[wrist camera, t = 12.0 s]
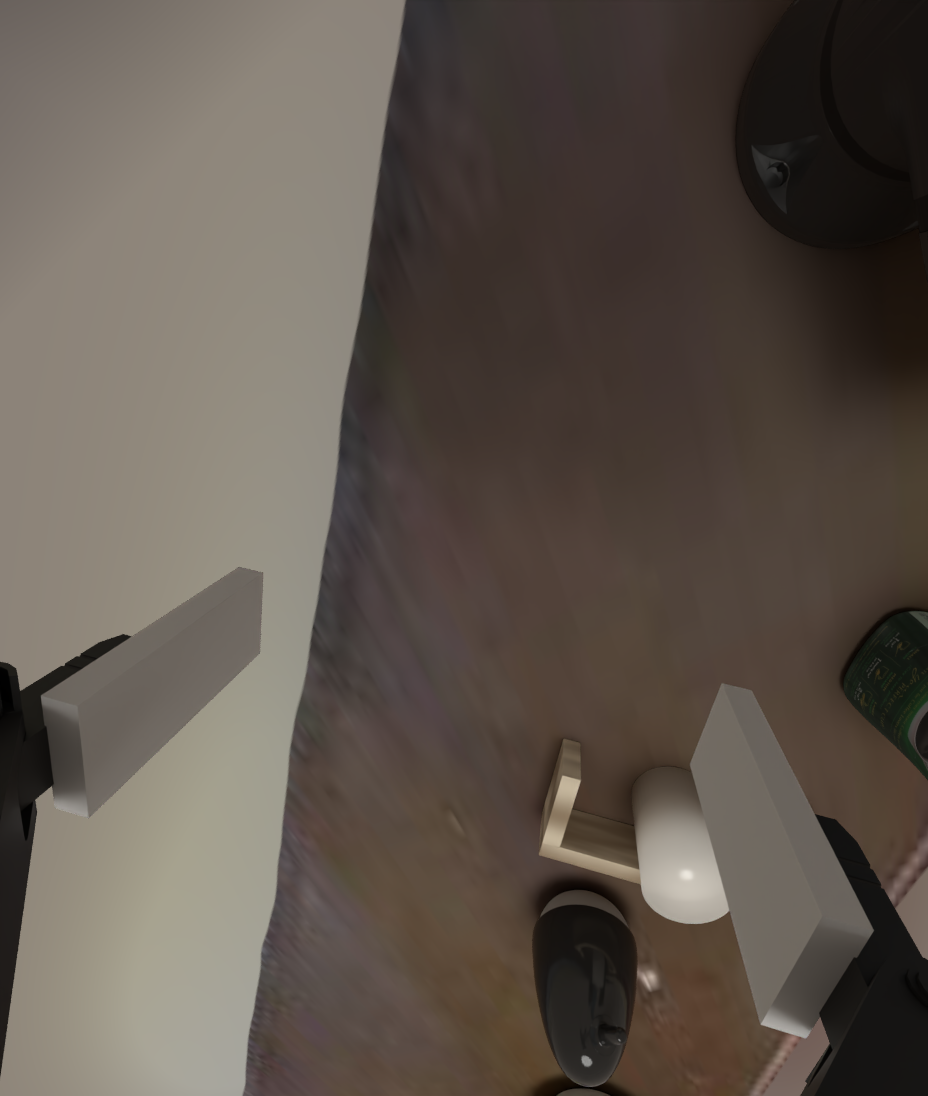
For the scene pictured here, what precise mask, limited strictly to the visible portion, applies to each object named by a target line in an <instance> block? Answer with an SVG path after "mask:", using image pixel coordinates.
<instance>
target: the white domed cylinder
mask: <svg viewBox="0 0 928 1096" xmlns="http://www.w3.org/2000/svg"><path fill="white" fill-rule="evenodd" d="M631 800H632V809H633V818H634V826H635V835H636V844H637V852H638V861H639V870H640V879H641V887H642V893H643V896H644V898H645V900H646V902H647V903H648V904H649V906H650V907H651V908H652V909H653V910H654V911H656V912H657V913H658V914H660V915H662V916H663V917H666V918H668V919H670V920H673V921H676V922H680V923H687V924H700V923H707V922H711V921H714V920H716V919H718V918H720V917H722V916H724V915H725V914H726V913H727V912H728V911H729V907H728V903H727V899H726V896H725V892H724V888H723V885H722V881H721V877H720V874H719V870H718V866H717V863H716V859H715V855H714V851H713V848H712V844H711V840H710V837H709V833H708V829H707V826H706V822H705V818H704V815H703V811H702V807H701V804H700V800H699V796H698V793H697V789H696V785H695V782H694V778H693V774H692V773H691V772H690V771H687V770H685V769H682V768H678V767H669V766H665V767H658V768H654V769H651V770H648V771H646V772H645V773H643V774H642V775H640V776H639V777H638V778H637V779H636V781H635V782H634V784H633V786H632V790H631Z"/></svg>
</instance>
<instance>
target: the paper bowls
mask: <svg viewBox="0 0 928 1096" xmlns="http://www.w3.org/2000/svg"><path fill="white" fill-rule="evenodd" d="M556 1096H610V1095H608V1094H606V1093H603V1092H601V1091H597V1090H593V1089H584V1088H577V1089H570V1090H566V1091H563V1092H561V1093H559V1094H558V1095H556Z"/></svg>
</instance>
